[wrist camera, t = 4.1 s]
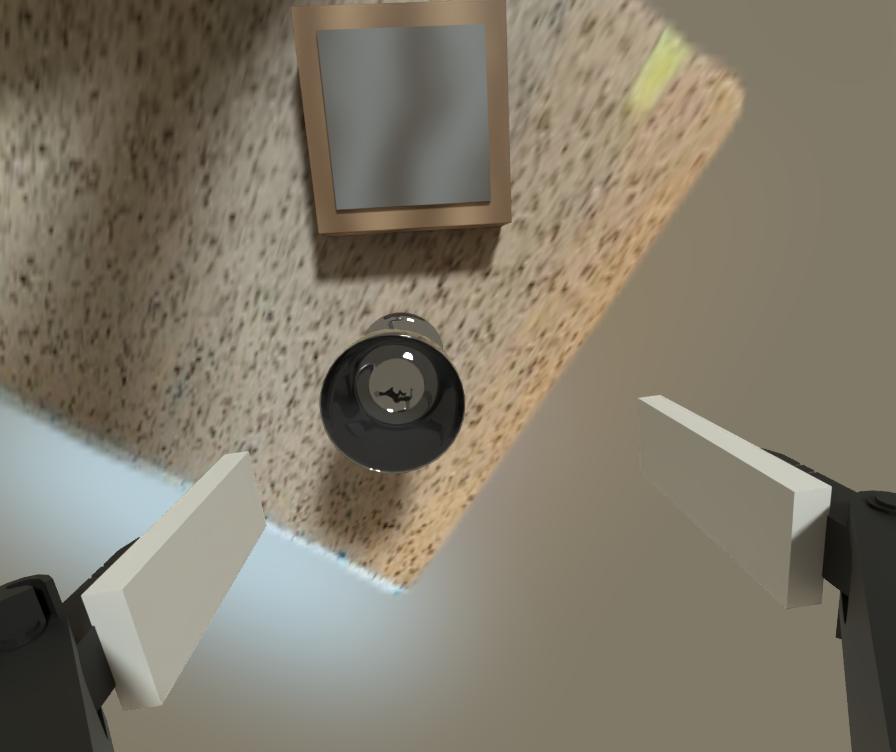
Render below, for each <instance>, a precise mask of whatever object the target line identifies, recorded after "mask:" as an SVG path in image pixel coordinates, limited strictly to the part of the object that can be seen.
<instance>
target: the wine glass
mask: <svg viewBox="0 0 896 752" xmlns="http://www.w3.org/2000/svg"><path fill="white" fill-rule="evenodd" d="M319 406H320V414H321V420H322V423H323V426H324V429H325V431H326V433H327V435H328V437H329V439H330V440H331V442H332V443H333V444H334V446H335V447H336V448H337V450H339V451H340V452H341V453H342V454H343V455H344V456H345V457H346V458H347V459H349V460H351V461H352V462H354V463H355V464H357V465H359V466H361V467H364V468H366V469H368V470H372V471H376V472H380V473H391V474H394V473H406V472H410V471H414V470H417V469H420V468H422V467H425V466H427V465H429V464H430V463H432V462H434V461H435V460H437V459H438V458H439V457H440V456H442V455H443V454H444V453H445V452H446V451H447V450H448V449H449V447H450V446H451V445H452V444H453V442H454V441H455V439H456V437H457V435H458V434H459V432H460V429H461V426H462V423H463V420H464V413H465V395H464V390H463V385H462V382H461V379H460V376H459V374H458V372H457V369H456V367H455V366H454V364H453V362H452V361H451V359H450V358H449V356H448V355H447V353H446V352H445V351H444V350H443V346H442V342H441V339H440V337H439V335H438V333H437V331H436V330H435V328H434V327H433V326H432V325H431V324H430V323H429V322H427V321H426V320H425V319H423V318H421V317H419V316H417V315H414V314H411V313H393V314H388V315H386V316H384V317H381V318H380V319H378V320H377V321H375V322H374V323H373V324H372V325H371V326H370V327H369V329H368V330H367V331H366V333H365V335H364V336H363V337H361V338H360V339H358V340H356V341H355V342H353V343H352V344H351V345H349V346H348V347H347V348H346V349H345V350H344V351H343V352H342V353H341V354H340V355H339V356H338V357H337V359H336V360H335V362H334V363H333V364H332V366H331V367H330V368H329V371H328V373H327V375H326V377H325V379H324V381H323V385H322V389H321V392H320V405H319Z"/></svg>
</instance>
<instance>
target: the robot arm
mask: <svg viewBox="0 0 896 752" xmlns="http://www.w3.org/2000/svg"><path fill="white" fill-rule="evenodd" d="M638 414H639V459H640V460H639V461H640V473H641V474H642V475H643V476H644V477H645V478H646V479H647V480H648V481H650V482H651V483H652V484H653V485H654V486H655V487H656V488H657V489H658V490H659V491H660V492H662V494H664V495H665V496H666V497H667V498H668V499H669V500H670V501H671V502H672V503H673V504H674V505H675V506H676V507H677V508H678V509H680V510H681V511H682V512H683V513H684V514H685V515H686V516H687V517H688V518H689V519H690V520H691V521H693V522H694V523H695V524H696V525H697V526H698V527H699V528H700V529H701V530H702V531H703V532H704V533H705V534H706V535H708V536H709V537H710V538H711V539H712V540H713V541H714V542H715V543H716V544H717V545H718V546H719V547H720V548H721V549H723V550H724V551H725V552H726V553H727V554H728V555H729V556H730V557H731V558H732V559H733V560H734V561H735V562H737V563H738V564H739V565H740V566H741V567H742V568H743V569H744V570H745V571H746V572H747V573H748V574H749V575H751V576H752V577H753V578H754V579H755V580H756V581H757V582H758V583H759V584H760V585H761V586H762V587H763V588H765V589H766V590H767V591H768V592H769V593H770V594H771V595H772V596H773V597H774V598H775V599H776V600H778V602H780V603H781V604H782V605H783V606H784V607H785V608H786V609H790V608H797V607H803V606H810V605H817V604H821V601H822V591H823V579H824V578H825V579H826V580H827V581H828V582H830V583H831V584H832V585H833V586H835V587H836V588H837V589H839V590H840V600H839V610H838V619H837V629H836V638H839V639H842V648H843V658H844V670H845V681H846V692H847V703H848V713H849V725H850V736H851V746H852V752H896V493H892V492H884V491H860V492H855V491H853V490H851V489H849V488H847V487H845V486H843V485H841V484H839V483H837V482H835V481H834V480H832V479H830V478H828V477H826V476H824V475H822V474H820V473H818V472H816V473H815V472H814V470H812V469H810V468H808V467H806V466H805V465H800V463H798V462H797V461H795V460H793V459H791V458H789V457H787V456H785V455H783V454H780V453H777V452H773V451H770V450H767V449H763V448H758V447H756V446H755V445H753V444H751V443H749V442H747V441H745V440H743V439H742V438H740V437H738V436H736V435H734V434H732V433H730V432H728V431H727V430H725V429H722V428H721V427H719V426H717V425H715V424H713V423H712V422H710V421H708V420H706V419H704V418H702V417H700V416H698V415H697V414H695V413H693V412H691V411H689V410H687V409H685V408H683V407H681V406H680V405H678V404H676V403H674V402H672V401H670V400H668V399H667V398H665V397H663V396H661V395H658V396H651V397H644V398H638ZM266 526H267V525H266V521H265V517H264V513H263V509H262V505H261V500H260V496H259V492H258V488H257V484H256V480H255V476H254V471H253V467H252V463H251V459H250V455H249V451H247V452H239V453H232V454H225V455H224V456H223V457H222V458H221V459H220V460H219V461H218V462H217V463H216V464H215V465H214V466H213V467H212V468H211V469H210V470H209V471H208V472H207V473H206V474H205V475H204V476H203V477H202V478H201V479H200V480H198V481H197V482H196V483H195V484H194V485H193V486H192V487H191V488H190V489H189V490H188V491H187V492H186V493H185V494H184V495H183V496H182V497H181V498H180V499H179V500H178V501H177V502H176V503H175V504H174V505H173V506H172V507H171V508H170V509H169V510H168V511H167V512H166V513H165V514H164V515H163V516H162V517H161V518H160V519H159V520H158V521H157V522H156V523H155V524H154V525H152V526H151V527H150V528H149V530H147V531H146V532H145V533H144V534H143V535H142V536H141V537H139V538H137V539H135V540H134V541H132V542H131V543H129V544H128V545H126V546H124V547H123V548H121V549H120V550H118V551H117V552H116V553H115V554H114V555H113V556H112V557H111V558H110V559H109V560H108V561H107V562H106V563H104V567H101V568H99V569H98V570H97V571H96V572H95V573H94V574H93V575H92V578H90V579H88V580H87V581H86V582H85V583H83V584H82V585H81V586H80V587H79V588H78V589H77V590H76V591H75V592H74V593H73V594H72V595H71V596H70V597H69V598H68V599H67V600H65V601H64V602H63V603H62V602H61V599H60V597H59V594H58V591H57V589H56V586H55V583H54V581H53V579H52V578H51V577H50V576H49V575H33V576H28V577H24V578H21V579H18V580H15V581H12V582H9V583H6V584H4V585H2V586H0V752H114V749H113V744H112V740H111V737H110V732H109V728H108V724H107V720H106V717H105V715H104V712H103V710H102V707H101V706H102V705H103V703H104V702H105V700H106V699H107V698H108V696H109V695H110V693H111V692H112V690H113V689H114V688H115V690H116V692H117V695H118V697H119V701H120V703H121V706H122V709H123V711H128V710H134V709H141V708H147V707H153V706H160V705H162V704H163V702H164V700H165V698H166V697H167V695H168V694H169V692H170V690H171V689H172V686H173V685H174V683H175V682H176V680H177V678H178V676H179V675H180V673H181V671H182V670H183V668H184V666H185V664H186V663H187V661H188V659H189V658H190V656H191V654H192V652H193V651H194V649H195V647H196V646H197V644H198V642H199V640H200V639H201V637H202V635H203V634H204V632H205V630H206V628H207V627H208V625H209V623H210V622H211V620H212V618H213V616H214V615H215V613H216V611H217V610H218V608H219V606H220V604H221V603H222V601H223V599H224V598H225V596H226V594H227V592H228V591H229V589H230V587H231V586H232V584H233V582H234V580H235V579H236V577H237V575H238V573H239V572H240V570H241V568H242V567H243V565H244V563H245V561H246V560H247V558H248V556H249V555H250V553H251V551H252V549H253V548H254V546H255V544H256V543H257V541H258V539H259V538H260V536H261V534H262V532H263V531H264V529H265V527H266Z"/></svg>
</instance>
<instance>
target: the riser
mask: <svg viewBox="0 0 896 752" xmlns="http://www.w3.org/2000/svg"><path fill="white" fill-rule="evenodd" d="M291 13H292V21H293V29H294V37H295V45H296V53H297V62H298V70H299V78H300V86H301V94H302V102H303V110H304V118H305V126H306V134H307V142H308V150H309V159H310V167H311V175H312V183H313V191H314V199H315V207H316V215H317V223H318V231H319V234H322V235H326V236H346V235H363V234H380V233H397V232H414V231H431V230H448V229H465V228H481V227H498V226H504V225H506V224H508V223H511V222H512V221H511V182H510V143H509V104H508V65H507V26H506V0H465V1H436V2H408V3H379V4H350V5H322V6H293V7H291Z"/></svg>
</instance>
